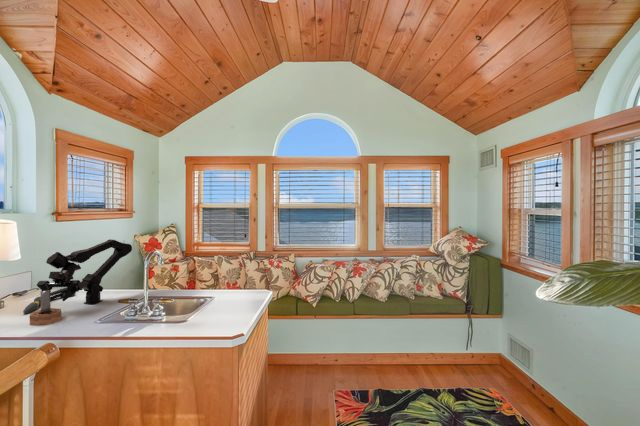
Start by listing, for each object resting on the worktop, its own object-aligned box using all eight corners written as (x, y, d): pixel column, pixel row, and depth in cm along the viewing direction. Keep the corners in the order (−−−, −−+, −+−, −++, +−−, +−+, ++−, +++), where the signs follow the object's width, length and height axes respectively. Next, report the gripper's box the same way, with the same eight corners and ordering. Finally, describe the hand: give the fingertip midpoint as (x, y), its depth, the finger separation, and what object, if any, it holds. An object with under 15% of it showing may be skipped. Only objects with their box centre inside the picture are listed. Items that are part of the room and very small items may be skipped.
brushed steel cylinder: (46, 319, 157) (45, 289, 157) (52, 319, 157) (52, 290, 156) (39, 321, 154) (38, 291, 153) (45, 322, 153) (45, 292, 153)
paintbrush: (33, 314, 164) (33, 304, 163) (21, 315, 162) (20, 305, 162) (48, 302, 182) (48, 293, 182) (37, 303, 180) (37, 294, 180)
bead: (47, 315, 161) (47, 307, 161) (66, 317, 160) (66, 309, 160) (23, 324, 151) (23, 315, 150) (44, 325, 149) (44, 317, 149)
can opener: (68, 294, 198) (68, 285, 198) (76, 295, 196) (76, 286, 195) (34, 303, 181) (34, 293, 181) (43, 304, 179) (43, 294, 178)
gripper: (38, 264, 163) (21, 293, 152) (79, 264, 165) (65, 292, 154) (50, 276, 171) (35, 304, 160) (89, 276, 173) (76, 303, 163)
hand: (52, 301), depth 159 cm, fingers open, 9 cm apart
